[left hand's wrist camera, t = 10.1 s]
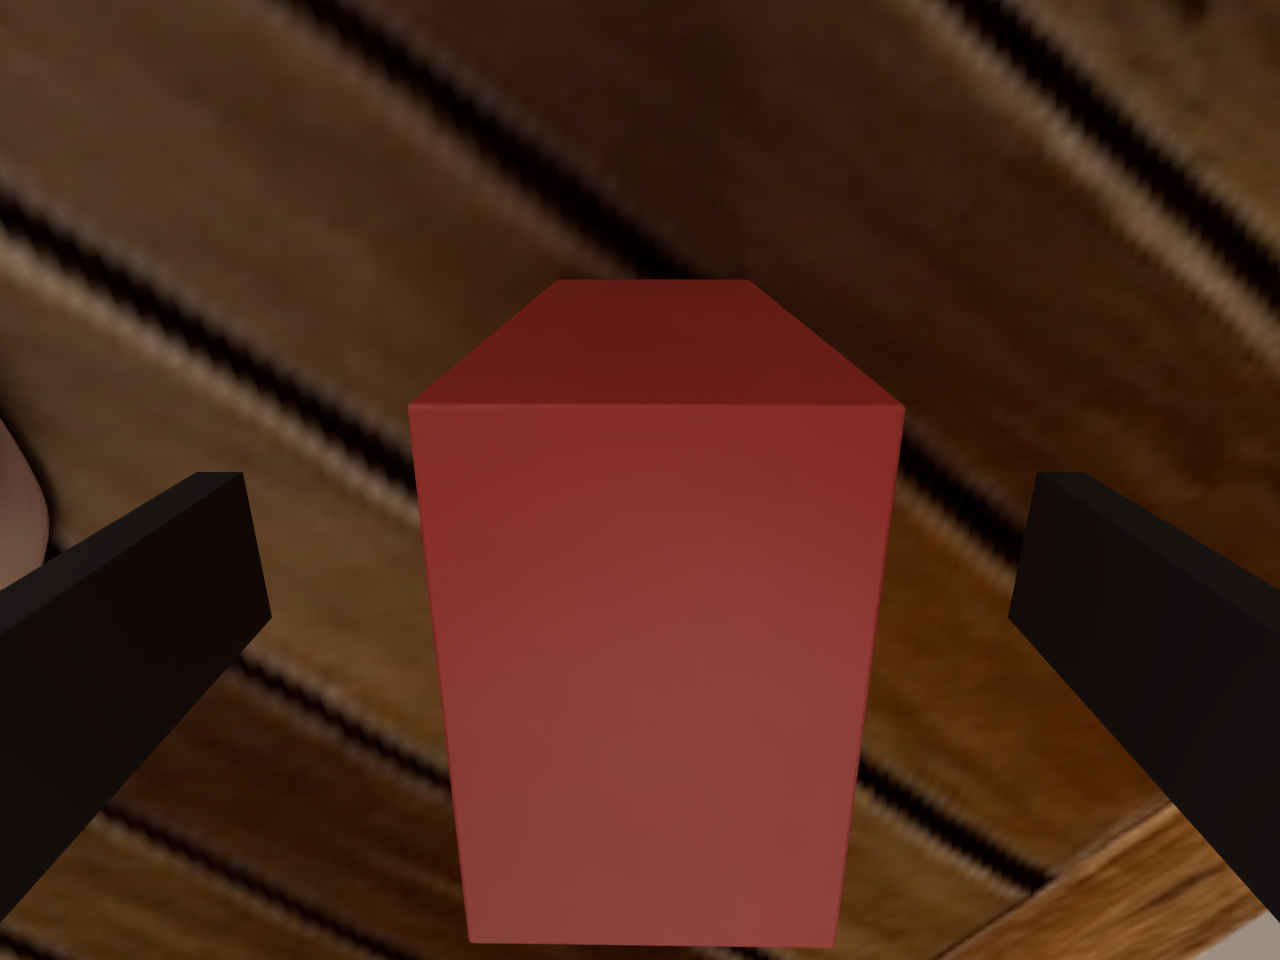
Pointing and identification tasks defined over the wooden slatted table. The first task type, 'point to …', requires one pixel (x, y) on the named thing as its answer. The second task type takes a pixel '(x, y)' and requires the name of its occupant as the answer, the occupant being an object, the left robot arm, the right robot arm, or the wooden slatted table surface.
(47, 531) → the anatomical model
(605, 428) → the brick
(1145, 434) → the wooden slatted table surface
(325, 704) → the wooden slatted table surface
